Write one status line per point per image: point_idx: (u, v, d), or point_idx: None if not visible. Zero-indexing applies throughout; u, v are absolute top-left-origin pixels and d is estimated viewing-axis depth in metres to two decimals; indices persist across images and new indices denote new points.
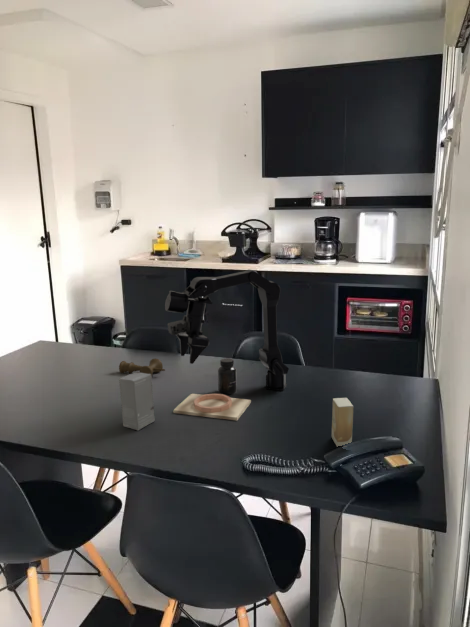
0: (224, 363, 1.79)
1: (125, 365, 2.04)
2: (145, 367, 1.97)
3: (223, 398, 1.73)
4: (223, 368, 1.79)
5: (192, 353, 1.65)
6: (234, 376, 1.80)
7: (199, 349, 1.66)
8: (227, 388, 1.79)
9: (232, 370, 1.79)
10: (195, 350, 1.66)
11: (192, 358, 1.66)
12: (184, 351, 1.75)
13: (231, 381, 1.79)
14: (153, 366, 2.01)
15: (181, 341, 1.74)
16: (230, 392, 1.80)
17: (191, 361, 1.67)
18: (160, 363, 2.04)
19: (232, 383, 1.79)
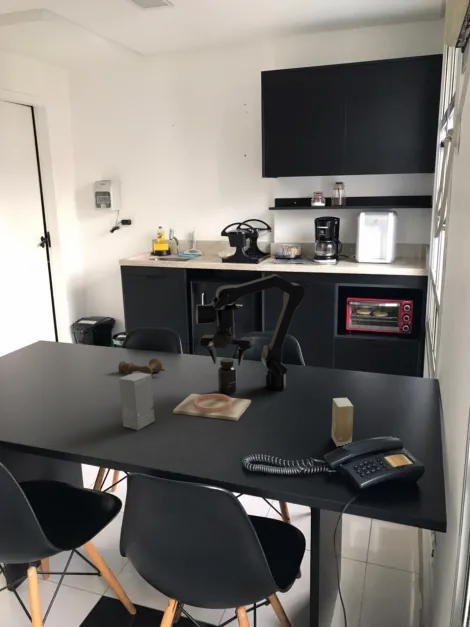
0: (224, 363, 1.79)
1: (124, 365, 2.04)
2: (145, 367, 1.97)
3: (223, 398, 1.73)
4: (223, 368, 1.79)
5: (241, 356, 1.77)
6: (234, 376, 1.80)
7: None
8: (227, 388, 1.79)
9: (232, 370, 1.79)
10: None
11: (240, 360, 1.78)
12: (215, 358, 1.82)
13: (231, 381, 1.79)
14: (153, 366, 2.01)
15: (212, 351, 1.80)
16: (230, 392, 1.80)
17: (239, 363, 1.79)
18: (159, 363, 2.04)
19: (232, 383, 1.79)
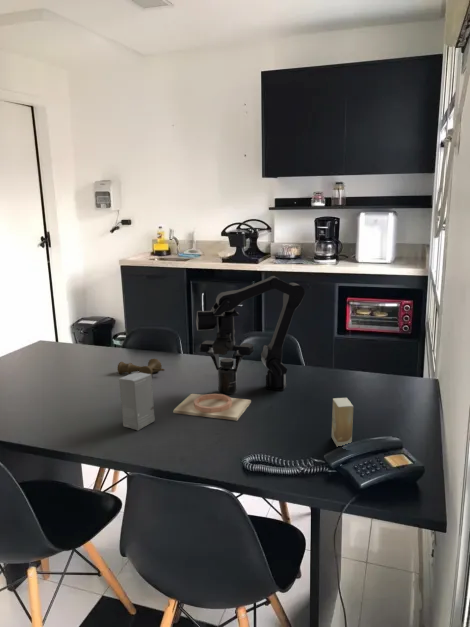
0: (224, 363, 1.78)
1: (124, 366, 2.03)
2: (145, 367, 1.97)
3: (223, 398, 1.73)
4: (223, 368, 1.79)
5: (239, 362, 1.78)
6: (234, 376, 1.80)
7: None
8: (227, 388, 1.79)
9: (232, 370, 1.79)
10: None
11: (238, 366, 1.79)
12: (218, 365, 1.82)
13: (231, 381, 1.79)
14: (152, 366, 2.01)
15: (215, 357, 1.80)
16: (230, 392, 1.80)
17: (237, 369, 1.80)
18: (159, 363, 2.04)
19: (232, 383, 1.79)
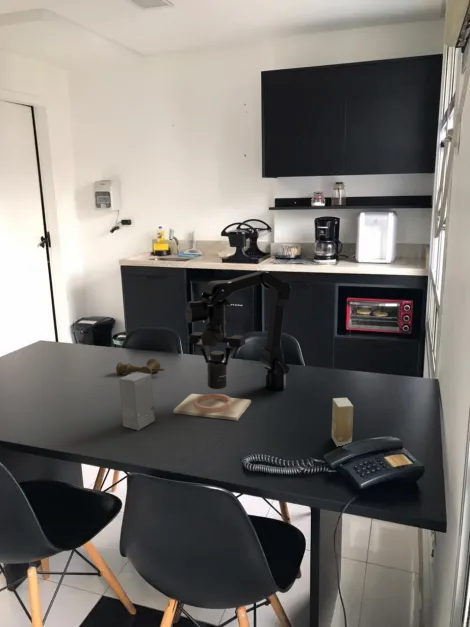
0: (214, 356, 1.69)
1: (122, 366, 2.02)
2: (145, 367, 1.96)
3: (223, 398, 1.73)
4: (213, 361, 1.70)
5: (229, 355, 1.69)
6: (224, 370, 1.70)
7: (232, 349, 1.70)
8: (216, 383, 1.70)
9: (222, 363, 1.70)
10: None
11: (228, 360, 1.70)
12: (208, 357, 1.73)
13: (221, 375, 1.70)
14: (151, 366, 2.01)
15: (204, 349, 1.71)
16: (219, 386, 1.70)
17: None
18: (158, 363, 2.04)
19: (221, 377, 1.70)
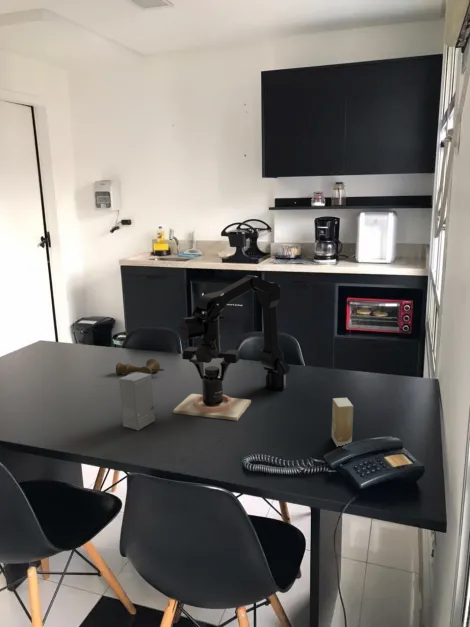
0: (209, 371, 1.64)
1: (122, 367, 2.02)
2: (145, 367, 1.96)
3: (223, 398, 1.73)
4: (208, 377, 1.65)
5: (224, 370, 1.64)
6: (220, 386, 1.65)
7: None
8: (212, 399, 1.65)
9: (217, 379, 1.65)
10: None
11: (223, 375, 1.65)
12: (203, 373, 1.68)
13: (216, 391, 1.65)
14: (151, 366, 2.01)
15: (199, 365, 1.66)
16: (215, 403, 1.66)
17: (223, 378, 1.66)
18: (157, 363, 2.04)
19: (217, 393, 1.65)
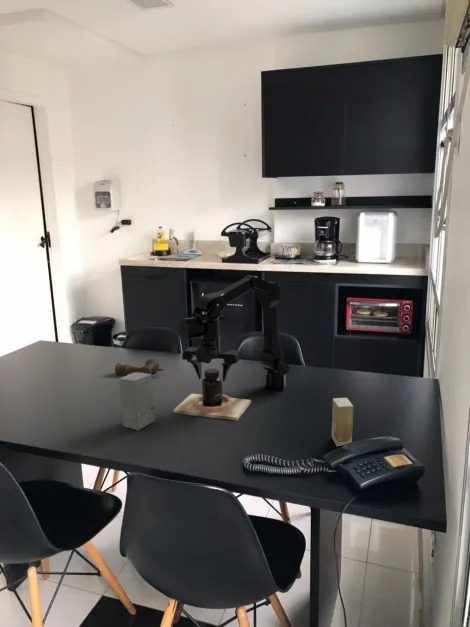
0: (208, 374, 1.65)
1: (121, 367, 2.02)
2: (144, 367, 1.96)
3: (223, 398, 1.73)
4: (207, 379, 1.65)
5: (226, 371, 1.64)
6: (219, 388, 1.66)
7: None
8: (212, 401, 1.65)
9: (217, 381, 1.65)
10: None
11: (225, 376, 1.65)
12: (201, 373, 1.68)
13: (216, 394, 1.65)
14: (151, 366, 2.01)
15: (197, 365, 1.66)
16: (215, 405, 1.66)
17: (224, 379, 1.66)
18: (157, 363, 2.04)
19: (217, 396, 1.65)
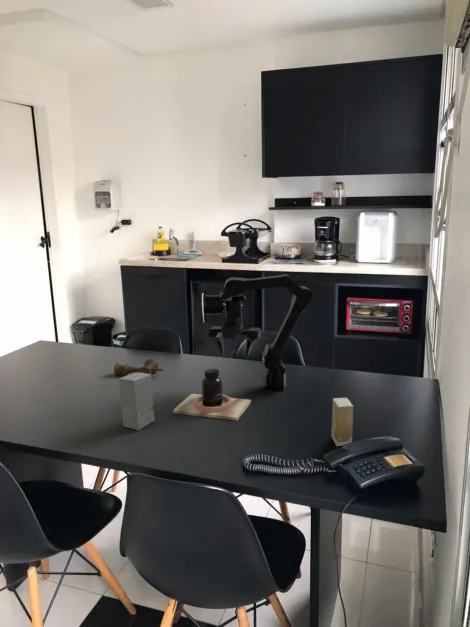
0: (208, 374, 1.65)
1: (120, 367, 2.01)
2: (144, 368, 1.96)
3: (223, 398, 1.73)
4: (207, 379, 1.65)
5: (250, 346, 1.80)
6: (219, 388, 1.66)
7: (252, 340, 1.81)
8: (212, 401, 1.65)
9: (217, 381, 1.65)
10: None
11: (249, 351, 1.81)
12: (223, 349, 1.84)
13: (216, 394, 1.65)
14: (150, 367, 2.01)
15: (220, 342, 1.82)
16: (215, 405, 1.66)
17: (248, 354, 1.81)
18: (156, 363, 2.04)
19: (217, 396, 1.65)
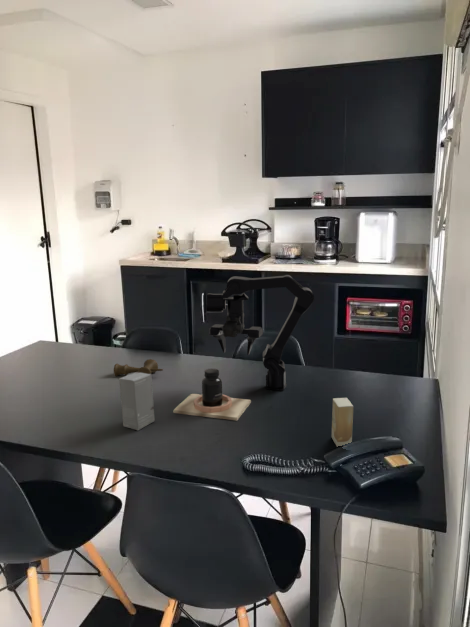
0: (208, 374, 1.65)
1: (120, 368, 2.01)
2: (144, 368, 1.96)
3: (223, 398, 1.73)
4: (207, 379, 1.65)
5: (251, 345, 1.81)
6: (219, 388, 1.66)
7: (253, 339, 1.82)
8: (212, 402, 1.65)
9: (217, 381, 1.65)
10: None
11: (249, 350, 1.82)
12: (225, 348, 1.86)
13: (216, 394, 1.65)
14: (150, 367, 2.01)
15: (222, 340, 1.84)
16: (215, 405, 1.66)
17: (248, 352, 1.83)
18: (156, 363, 2.04)
19: (217, 396, 1.65)
